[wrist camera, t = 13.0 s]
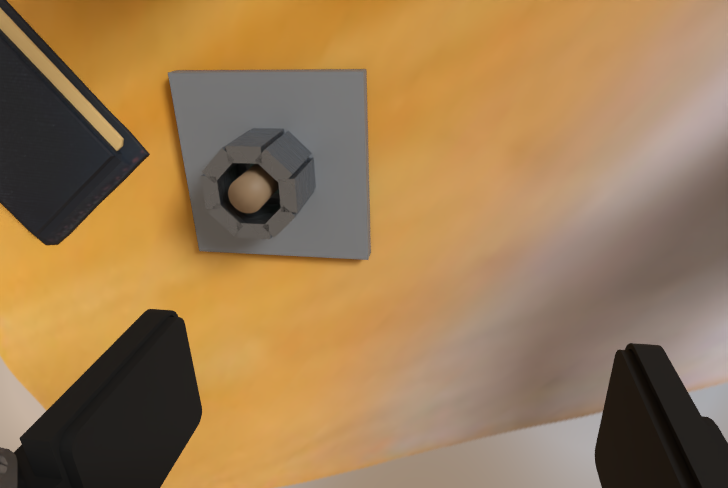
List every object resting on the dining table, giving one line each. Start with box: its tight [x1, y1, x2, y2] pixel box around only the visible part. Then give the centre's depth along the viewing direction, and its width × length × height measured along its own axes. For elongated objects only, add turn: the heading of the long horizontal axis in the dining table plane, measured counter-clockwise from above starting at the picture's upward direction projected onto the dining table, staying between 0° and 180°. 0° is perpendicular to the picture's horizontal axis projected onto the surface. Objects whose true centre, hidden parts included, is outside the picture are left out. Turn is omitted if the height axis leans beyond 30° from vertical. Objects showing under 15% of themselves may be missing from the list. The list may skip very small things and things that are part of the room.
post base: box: [168, 69, 371, 260], centre depth 37 cm, size 14×14×7 cm
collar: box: [201, 128, 316, 239], centre depth 37 cm, size 6×6×5 cm
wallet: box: [0, 0, 150, 245], centre depth 42 cm, size 20×2×15 cm
